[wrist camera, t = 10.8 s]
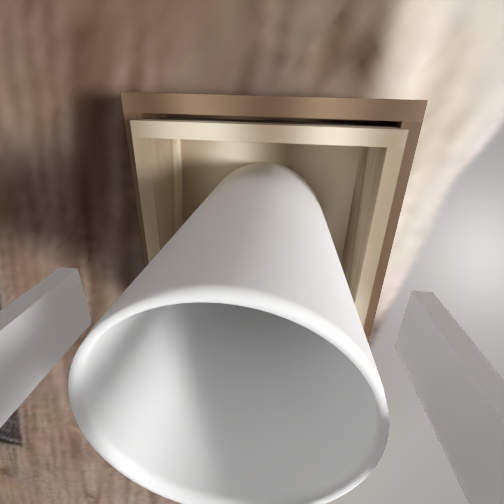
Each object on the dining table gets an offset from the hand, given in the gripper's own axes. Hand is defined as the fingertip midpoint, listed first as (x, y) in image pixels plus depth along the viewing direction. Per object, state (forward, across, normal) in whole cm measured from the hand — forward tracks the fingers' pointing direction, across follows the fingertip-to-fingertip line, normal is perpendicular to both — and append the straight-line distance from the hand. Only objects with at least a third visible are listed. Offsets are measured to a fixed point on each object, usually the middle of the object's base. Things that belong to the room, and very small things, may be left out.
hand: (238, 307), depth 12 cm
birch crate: (+12, +1, 0) cm, 12 cm away
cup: (+11, 0, 0) cm, 11 cm away
